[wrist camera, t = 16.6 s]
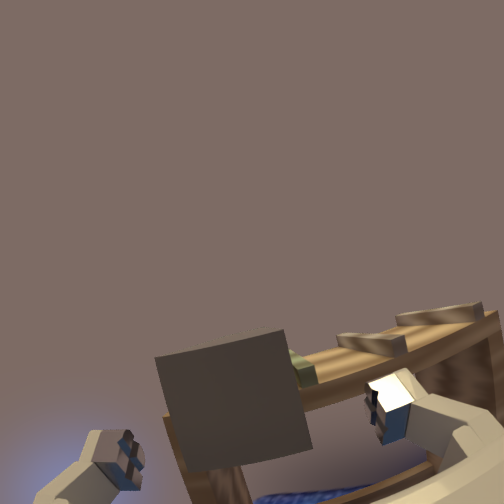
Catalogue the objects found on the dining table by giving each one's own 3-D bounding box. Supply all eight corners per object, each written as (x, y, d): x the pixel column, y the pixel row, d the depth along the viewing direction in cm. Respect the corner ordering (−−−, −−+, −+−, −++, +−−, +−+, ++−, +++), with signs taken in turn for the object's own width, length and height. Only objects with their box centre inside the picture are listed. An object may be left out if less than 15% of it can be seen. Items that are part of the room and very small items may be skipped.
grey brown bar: (313, 448, 8) (283, 329, 9) (188, 472, 8) (154, 357, 9) (272, 363, 32) (263, 326, 33) (234, 372, 32) (225, 335, 32)
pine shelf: (497, 544, 12) (494, 294, 18) (261, 634, 11) (157, 398, 17) (440, 499, 26) (413, 309, 32) (259, 560, 25) (197, 369, 31)
